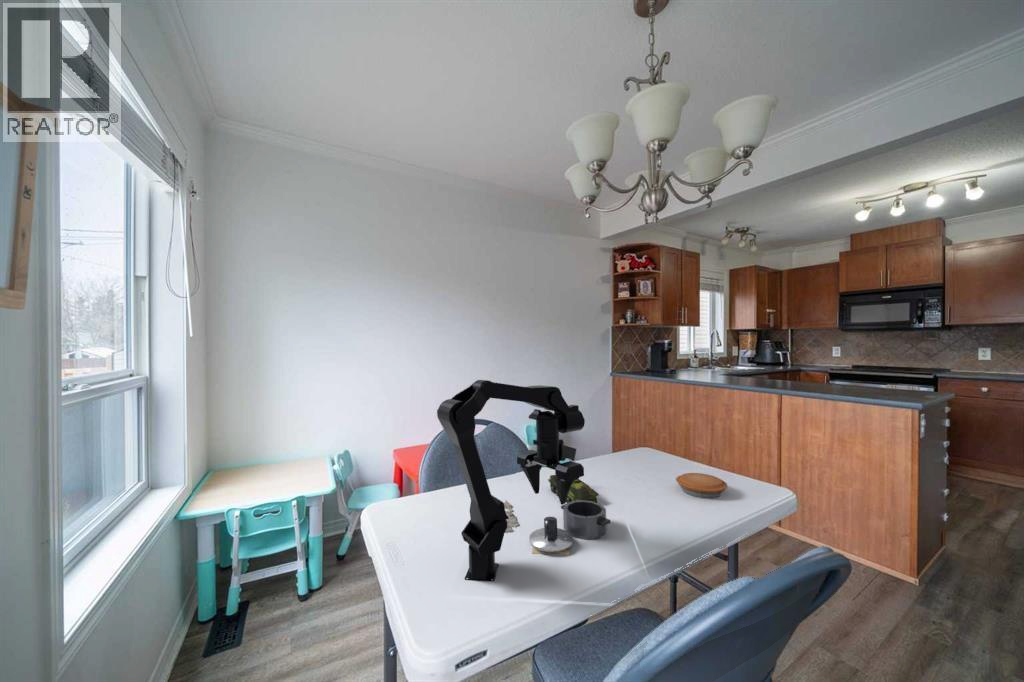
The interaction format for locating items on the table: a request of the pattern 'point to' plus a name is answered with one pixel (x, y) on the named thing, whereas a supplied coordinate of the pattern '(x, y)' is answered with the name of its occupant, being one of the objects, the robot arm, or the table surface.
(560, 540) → the lid
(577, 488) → the toy vehicle
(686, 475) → the pie
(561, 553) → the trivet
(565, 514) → the pot
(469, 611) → the table surface
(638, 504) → the table surface
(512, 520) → the stone fragment
